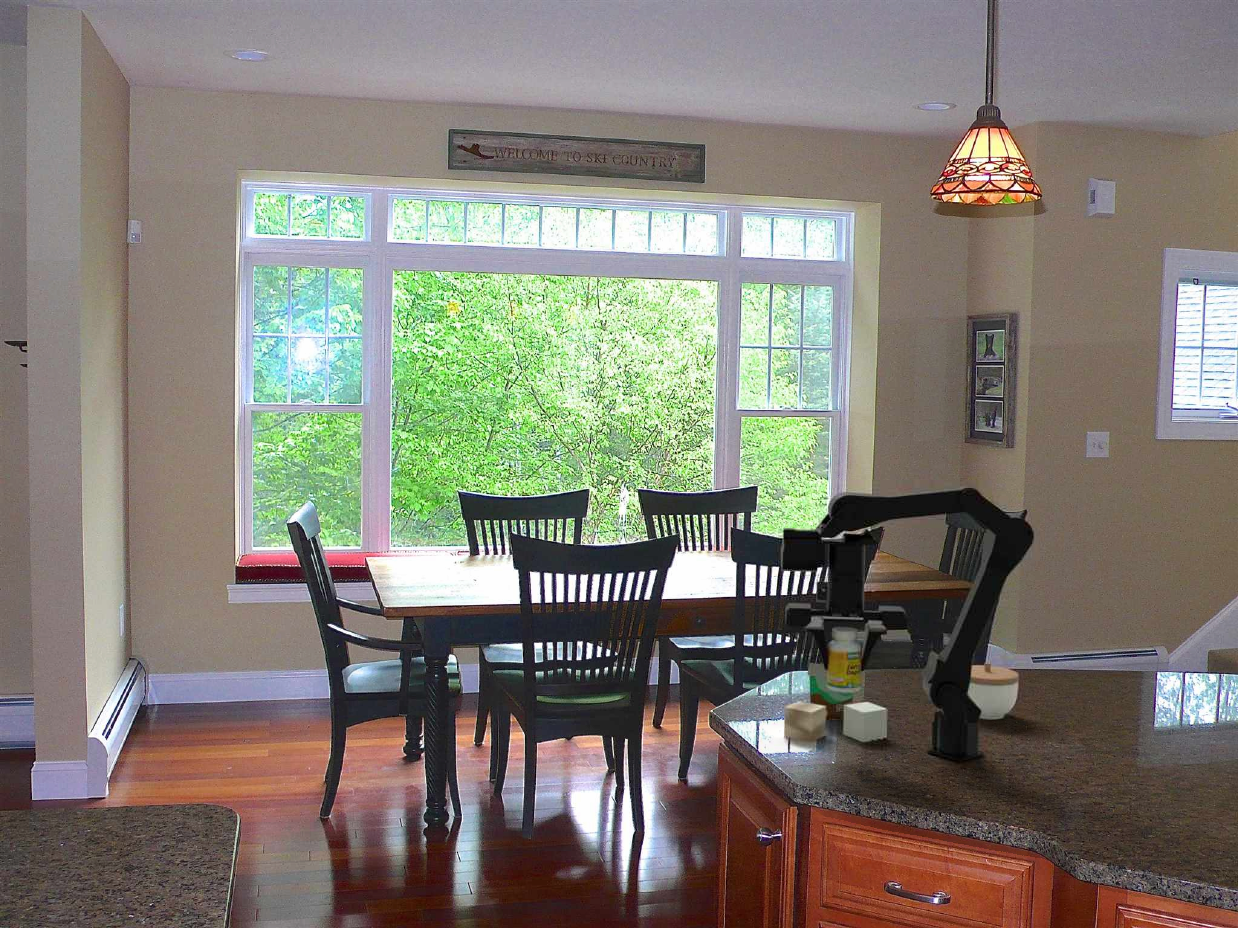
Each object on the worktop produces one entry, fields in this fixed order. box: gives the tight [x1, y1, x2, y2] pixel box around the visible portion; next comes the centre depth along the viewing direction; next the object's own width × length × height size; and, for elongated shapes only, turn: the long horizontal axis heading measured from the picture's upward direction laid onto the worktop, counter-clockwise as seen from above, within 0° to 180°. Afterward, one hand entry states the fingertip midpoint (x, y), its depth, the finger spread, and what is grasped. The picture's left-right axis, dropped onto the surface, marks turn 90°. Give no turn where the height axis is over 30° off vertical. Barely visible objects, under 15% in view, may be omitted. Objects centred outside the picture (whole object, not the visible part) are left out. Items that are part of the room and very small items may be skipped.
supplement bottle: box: [826, 626, 863, 693], centre depth 185 cm, size 5×5×10 cm
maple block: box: [783, 700, 827, 743], centre depth 193 cm, size 5×5×5 cm
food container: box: [807, 661, 854, 721], centre depth 206 cm, size 12×6×10 cm, turn 143°
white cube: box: [842, 701, 888, 743], centre depth 194 cm, size 5×5×5 cm
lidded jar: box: [968, 661, 1020, 720], centre depth 207 cm, size 11×11×9 cm
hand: (844, 669), depth 185 cm, fingers closed on supplement bottle, 5 cm apart
